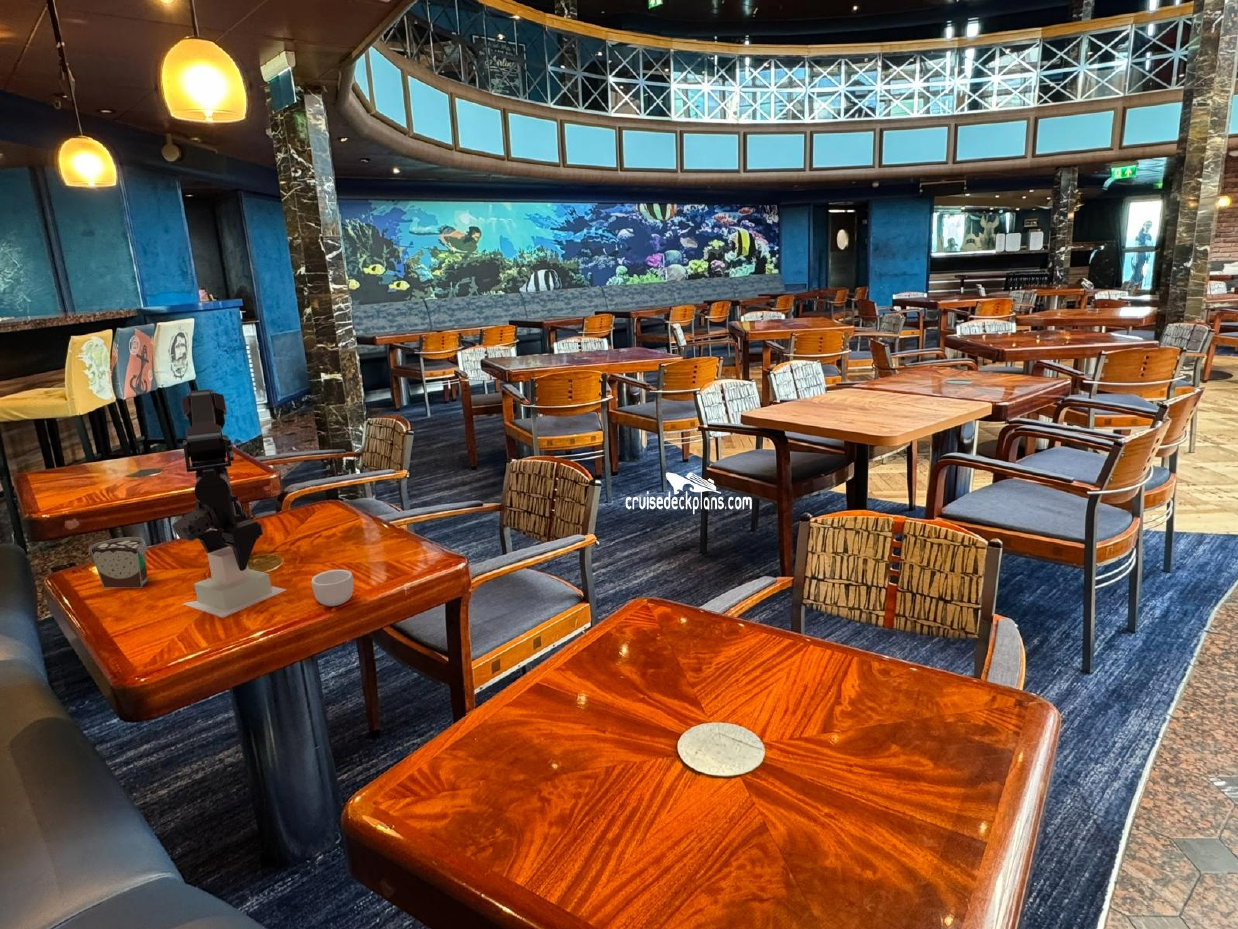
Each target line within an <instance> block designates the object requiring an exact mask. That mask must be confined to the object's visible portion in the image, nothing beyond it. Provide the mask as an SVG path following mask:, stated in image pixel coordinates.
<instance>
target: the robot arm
mask: <svg viewBox="0 0 1238 929" xmlns="http://www.w3.org/2000/svg"><path fill="white" fill-rule="evenodd" d="M186 394H187V395H186V396H185V397H182V398H181V399H180V400H181V406H182V413H183V417H184V420H185V419H186V420H188V421H189V422H188V423H189V426H190V427H189V428H187V429H186V430H185V439H184V440H182V447H183V453H184V461H185V467H186V472H187V473H191V472H195V473H194V475H195V479H196V480H195V485H194V495H195V498H196V499H197V500H195V503H194V508H195V509H194V510H193V511H191V512H189V513H187V514H186V515H184V516H183V517H181V518H180V519H178V520H177V521H175V522H174V523H173V524H172V525H171V526H172V529H173V530H174V531H175V533H176V534H177V536H178V537H179V539H180V540H187V541H188V542H193V541H195V540H198V541H199V542H200V543H201V545H202V548H203V549H204V550H205V551H206V554H208V553H211V552H214V551H216V550H219V549H222V548H225V547H228V546H230V547H231V548H232V549H233V552H234V555H235V558H236V562H237V565H238V567H239V570H240V571H243V570H245V569H246V567H247V564H248V565H249V560H250V558H251V556H252V552H253V549H254V548H255V545H256V543H257V540H258V539H260V537H261V536H263V535H264V528H263V525H262V524H261V523H260V522H258V521H255V520H254V521H253V520H251V518H250V517H251V516H250V515H249V514H247V512H246V510H242V505H241V502H240V501H239V499H238V495H234V494H233V492H232V486H231V481H230V475H229V471H228V470H229V469H228V468H227V467H232V462H233V461H235V457H234V452H233V443H232V440H231V439H230V438H229V436H228V435H227V434H224V435H223V428H224V427H225V424H226V416H227V415H228V409H227V404H226V399H225V395H224V394H221V393H219V392H215V391H214V389H210V388H208V389H199V390H198V389H197V390H191V391H189V392H186ZM226 459H227V460H226Z"/></svg>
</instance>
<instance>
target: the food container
mask: <svg viewBox="0 0 1238 929" xmlns="http://www.w3.org/2000/svg"><path fill="white" fill-rule="evenodd" d="M148 549H149V548H148V546H147V544H146V541H145V540H144V539H143V538H142V537H138V536H137V537H135V536H126V537H118V538H117V537H116V538H111V539H108V540H107V539H106V540H103V541H100V542H97V543H94V544H91V545H89V548H88V555H89V556H92V558H93V559H92V560H93V562H94V565H95V567H96V571H97V574H98V576H99V579H100V582H101V585H102V588H106V589H107V588H108V589H111V588H112V589H113V588H115V589H116V588H117V589H121V588H125V589H126V588H128V589H129V588H130V587H131V588H130V589H132V588H135V589H140V588H141V589H142V588H144V587H145V585H146V586H147V585H148V584H149V579H148V571H147V560H146V552H147V551H148Z"/></svg>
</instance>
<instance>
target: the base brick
mask: <svg viewBox="0 0 1238 929" xmlns="http://www.w3.org/2000/svg"><path fill="white" fill-rule="evenodd" d="M249 573H250V577H247V578H245V579H242V580H239V581H237V582H234V583H231V584H229V585H224V584H221V583H217V582H213V580H212V576H211V577H208V578H205V579H203V580H200V581H198V582H195V583H193V585H194V589H195V590H194V591H195V595H196V601H198V602H200V603H203V604H206V605H210V606H213V607H216V608H219V609H223V610H226V611H227V610H229V609H231V608H234V607H236V606H239V605H241V604H244V603H246V602H248V601H251V600H253V599H256V598H258V597H261V596H263V595H265V594H268V593H270V592H272V589H271V587H272V583H271V579H270V578H271V577H270V574H269V573H266V572H263V571H259V570H255V569H251V568H249Z"/></svg>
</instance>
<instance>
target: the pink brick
mask: <svg viewBox="0 0 1238 929" xmlns="http://www.w3.org/2000/svg"><path fill="white" fill-rule="evenodd" d="M206 554H207V553H206ZM207 558H208V559H207V560H208V565H209V569H210V574H211V575H210V576H211V577H212V580H213V582H217V583H221V584H224V585H229V584H231V583H234V582H237V581H239V580H242V579H245V578H247V577H250V573H249V569H250V567H249V563H248V564H247V567H246V569H245V570H243V571H240V570H239V567H238V565H237V562H236V558H235V555H234V552H233V549H232V548H231V547H230V546H228V547H225V548H222V549H219V550H216V551H214V552H211V553H208V554H207Z"/></svg>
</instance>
